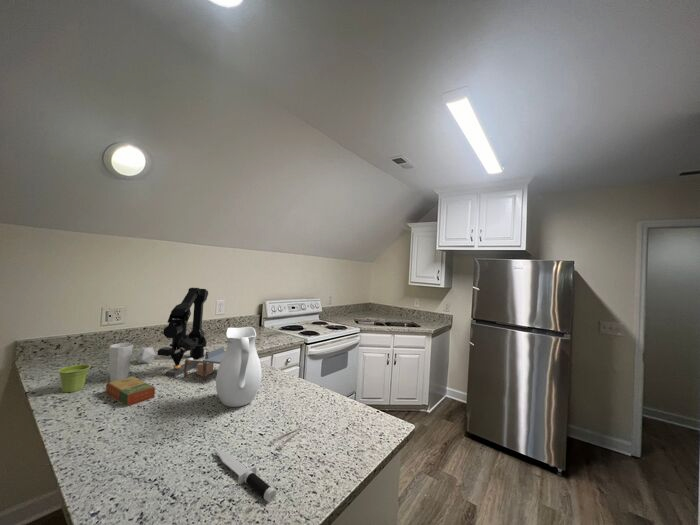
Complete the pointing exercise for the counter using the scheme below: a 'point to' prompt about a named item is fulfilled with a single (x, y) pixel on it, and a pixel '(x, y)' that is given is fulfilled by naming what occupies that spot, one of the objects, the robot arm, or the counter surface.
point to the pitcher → (239, 368)
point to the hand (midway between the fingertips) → (177, 365)
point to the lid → (215, 356)
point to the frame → (195, 362)
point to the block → (208, 368)
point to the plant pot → (73, 377)
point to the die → (145, 355)
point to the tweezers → (284, 437)
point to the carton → (130, 391)
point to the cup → (120, 360)
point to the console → (181, 369)
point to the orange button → (177, 367)
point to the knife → (247, 476)
